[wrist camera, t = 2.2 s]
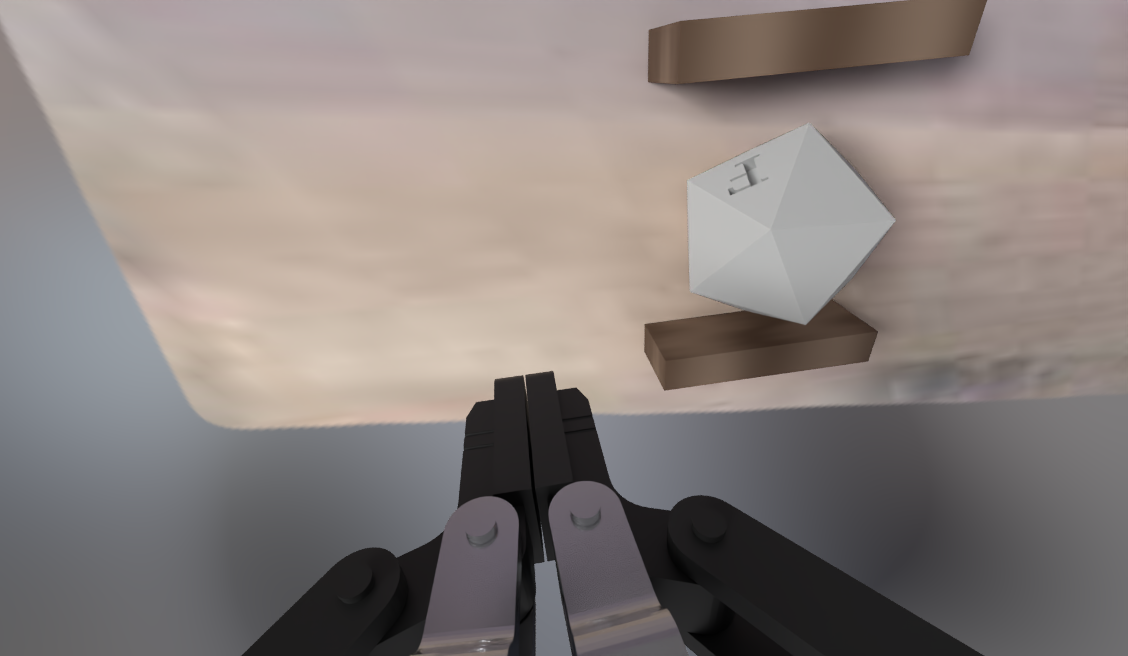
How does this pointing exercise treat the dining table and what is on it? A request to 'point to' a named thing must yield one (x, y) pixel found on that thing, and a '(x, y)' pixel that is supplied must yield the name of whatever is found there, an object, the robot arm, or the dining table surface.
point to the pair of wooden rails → (777, 46)
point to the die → (781, 227)
